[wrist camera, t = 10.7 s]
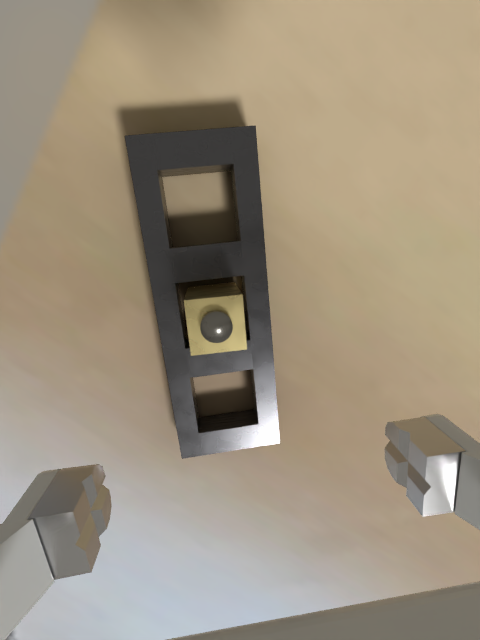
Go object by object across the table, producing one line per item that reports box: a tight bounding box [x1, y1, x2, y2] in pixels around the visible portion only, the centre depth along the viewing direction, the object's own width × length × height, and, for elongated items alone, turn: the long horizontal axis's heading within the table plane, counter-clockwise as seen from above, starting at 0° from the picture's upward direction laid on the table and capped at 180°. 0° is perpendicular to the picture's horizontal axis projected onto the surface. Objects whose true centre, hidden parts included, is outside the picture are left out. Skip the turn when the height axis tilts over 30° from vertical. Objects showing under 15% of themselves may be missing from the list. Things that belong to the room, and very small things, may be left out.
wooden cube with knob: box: [184, 282, 247, 356], centre depth 24 cm, size 4×4×6 cm
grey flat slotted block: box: [125, 126, 280, 459], centre depth 26 cm, size 9×26×2 cm, turn 6°
